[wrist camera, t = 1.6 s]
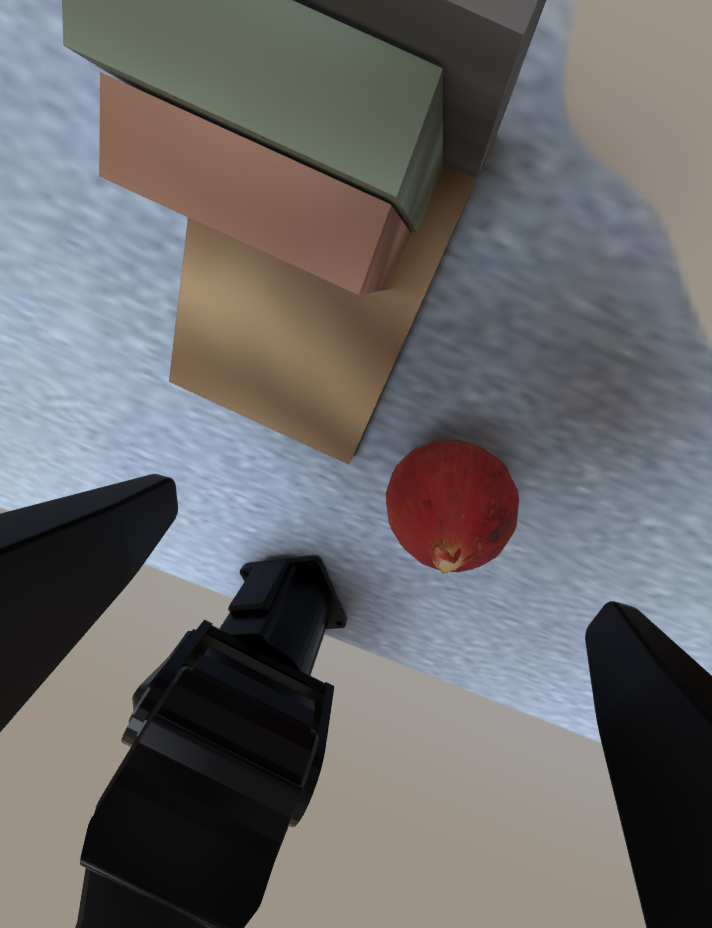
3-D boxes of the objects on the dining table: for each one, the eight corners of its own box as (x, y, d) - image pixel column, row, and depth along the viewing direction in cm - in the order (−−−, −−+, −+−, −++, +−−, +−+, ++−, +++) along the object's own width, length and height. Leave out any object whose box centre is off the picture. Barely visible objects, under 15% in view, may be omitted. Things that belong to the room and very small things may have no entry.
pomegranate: (507, 413, 18) (548, 499, 11) (502, 511, 20) (534, 631, 13) (391, 420, 19) (362, 500, 12) (400, 510, 22) (380, 619, 15)
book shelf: (352, 456, 21) (288, 584, 12) (180, 377, 21) (-8, 447, 12) (496, 133, 13) (595, -135, 5) (228, 12, 13) (-162, -473, 5)
